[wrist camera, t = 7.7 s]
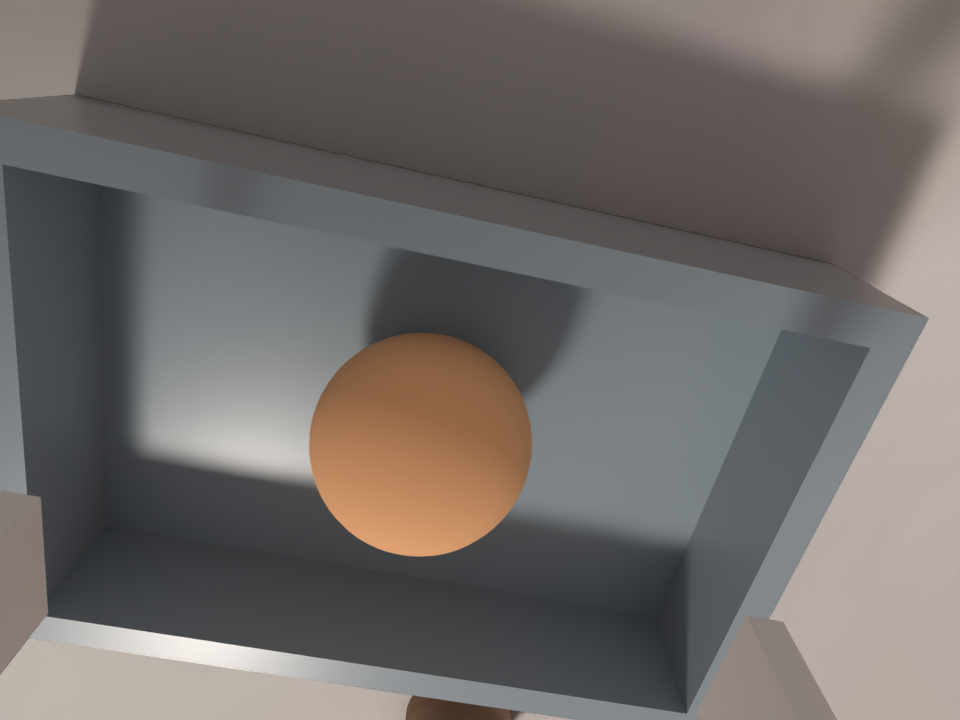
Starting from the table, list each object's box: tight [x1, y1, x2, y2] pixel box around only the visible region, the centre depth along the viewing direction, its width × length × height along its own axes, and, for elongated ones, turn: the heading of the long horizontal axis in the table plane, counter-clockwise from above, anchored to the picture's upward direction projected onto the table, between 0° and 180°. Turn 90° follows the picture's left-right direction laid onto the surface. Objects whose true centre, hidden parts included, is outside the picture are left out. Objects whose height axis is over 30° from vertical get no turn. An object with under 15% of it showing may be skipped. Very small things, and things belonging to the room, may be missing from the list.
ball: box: [309, 333, 532, 556], centre depth 18 cm, size 6×6×6 cm
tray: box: [0, 95, 929, 720], centre depth 20 cm, size 22×15×5 cm
